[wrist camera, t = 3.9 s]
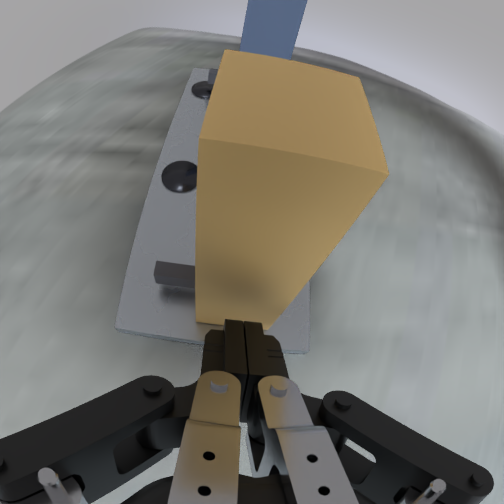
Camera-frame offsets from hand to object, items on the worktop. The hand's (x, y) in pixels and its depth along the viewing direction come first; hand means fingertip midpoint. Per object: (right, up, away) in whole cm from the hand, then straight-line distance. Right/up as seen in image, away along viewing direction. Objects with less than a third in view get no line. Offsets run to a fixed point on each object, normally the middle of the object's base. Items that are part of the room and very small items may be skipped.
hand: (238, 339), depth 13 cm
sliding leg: (-2, +1, +5) cm, 6 cm away
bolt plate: (-1, +10, +11) cm, 15 cm away
